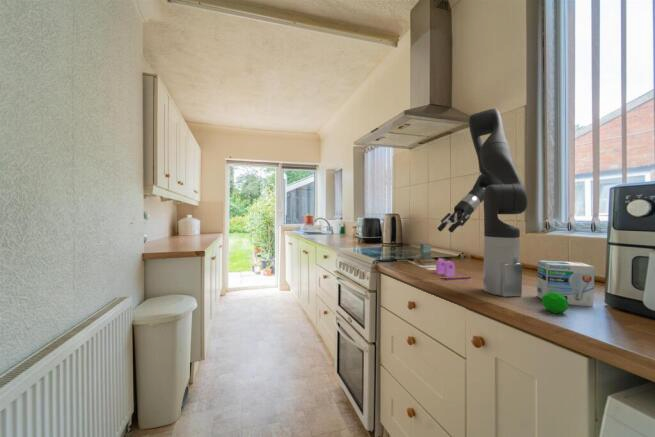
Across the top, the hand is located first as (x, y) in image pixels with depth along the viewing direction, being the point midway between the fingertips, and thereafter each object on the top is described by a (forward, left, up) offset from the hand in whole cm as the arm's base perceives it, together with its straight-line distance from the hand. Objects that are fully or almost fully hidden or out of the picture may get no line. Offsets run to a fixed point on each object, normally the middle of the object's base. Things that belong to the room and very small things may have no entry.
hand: (444, 230), depth 124 cm
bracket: (-20, +8, -17) cm, 28 cm away
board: (-2, +9, -17) cm, 19 cm away
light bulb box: (-50, -5, -17) cm, 53 cm away
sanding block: (+1, +9, -15) cm, 18 cm away
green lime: (-57, +6, -17) cm, 60 cm away
